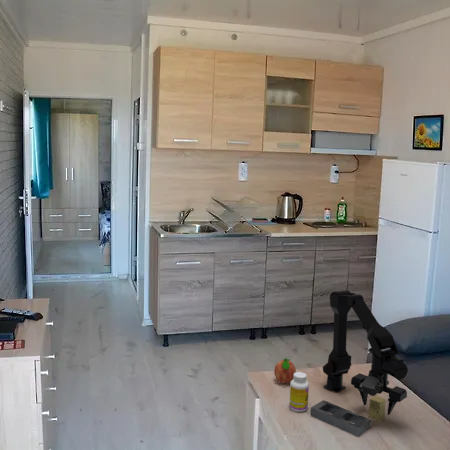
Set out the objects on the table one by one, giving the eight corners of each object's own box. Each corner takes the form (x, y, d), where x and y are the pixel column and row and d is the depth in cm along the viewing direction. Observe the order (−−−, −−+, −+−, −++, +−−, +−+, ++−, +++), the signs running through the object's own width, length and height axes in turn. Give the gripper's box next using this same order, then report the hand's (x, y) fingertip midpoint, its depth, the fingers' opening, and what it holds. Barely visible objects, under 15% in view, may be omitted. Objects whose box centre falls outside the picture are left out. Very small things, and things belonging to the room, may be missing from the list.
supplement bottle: (307, 413, 188) (308, 379, 186) (288, 411, 189) (290, 377, 187) (308, 405, 194) (309, 371, 192) (290, 402, 195) (291, 370, 193)
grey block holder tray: (323, 407, 192) (323, 400, 192) (370, 427, 179) (370, 419, 179) (310, 415, 186) (310, 407, 186) (358, 436, 173) (358, 428, 173)
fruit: (271, 384, 210) (272, 360, 208) (277, 375, 219) (278, 352, 217) (292, 388, 207) (293, 364, 206) (297, 378, 216) (298, 355, 214)
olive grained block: (374, 413, 189) (375, 395, 188) (384, 417, 186) (385, 399, 185) (368, 417, 186) (369, 398, 185) (378, 421, 183) (380, 402, 182)
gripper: (344, 366, 184) (341, 408, 186) (394, 383, 171) (390, 428, 174) (360, 357, 192) (357, 397, 194) (409, 373, 179) (405, 416, 182)
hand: (376, 409), depth 186 cm, fingers open, 9 cm apart
